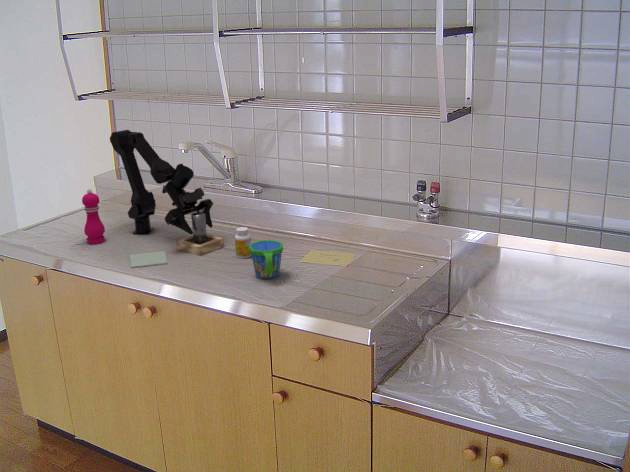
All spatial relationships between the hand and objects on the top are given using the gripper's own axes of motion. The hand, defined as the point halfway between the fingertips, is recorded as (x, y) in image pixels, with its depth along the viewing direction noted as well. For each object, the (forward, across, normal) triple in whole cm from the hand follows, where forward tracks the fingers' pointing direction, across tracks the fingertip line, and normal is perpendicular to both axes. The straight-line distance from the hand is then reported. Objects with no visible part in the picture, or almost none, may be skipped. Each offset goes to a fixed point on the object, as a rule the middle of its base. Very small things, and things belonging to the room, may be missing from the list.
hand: (202, 230), depth 245 cm
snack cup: (+31, -6, -21) cm, 38 cm away
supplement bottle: (+17, +3, -7) cm, 19 cm away
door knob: (+4, 0, +6) cm, 7 cm away
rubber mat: (0, -19, +9) cm, 21 cm away
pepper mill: (-22, -18, +32) cm, 43 cm away
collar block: (+4, 0, +6) cm, 7 cm away
